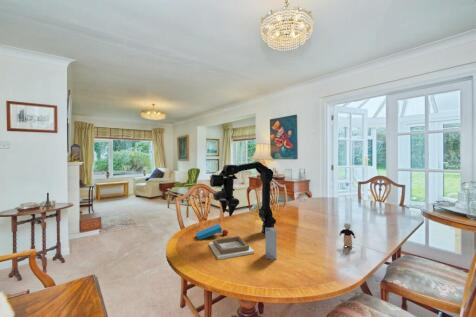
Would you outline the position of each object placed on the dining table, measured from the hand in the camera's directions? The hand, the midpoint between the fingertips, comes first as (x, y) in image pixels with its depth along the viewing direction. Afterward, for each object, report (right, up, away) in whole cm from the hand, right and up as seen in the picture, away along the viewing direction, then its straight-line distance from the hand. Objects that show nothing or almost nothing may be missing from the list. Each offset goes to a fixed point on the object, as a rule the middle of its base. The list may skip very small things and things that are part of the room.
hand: (226, 214), depth 127 cm
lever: (-9, -15, +6) cm, 18 cm away
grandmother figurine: (+64, -15, -10) cm, 66 cm away
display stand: (+3, -15, -12) cm, 19 cm away
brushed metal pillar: (+22, -15, -21) cm, 34 cm away
